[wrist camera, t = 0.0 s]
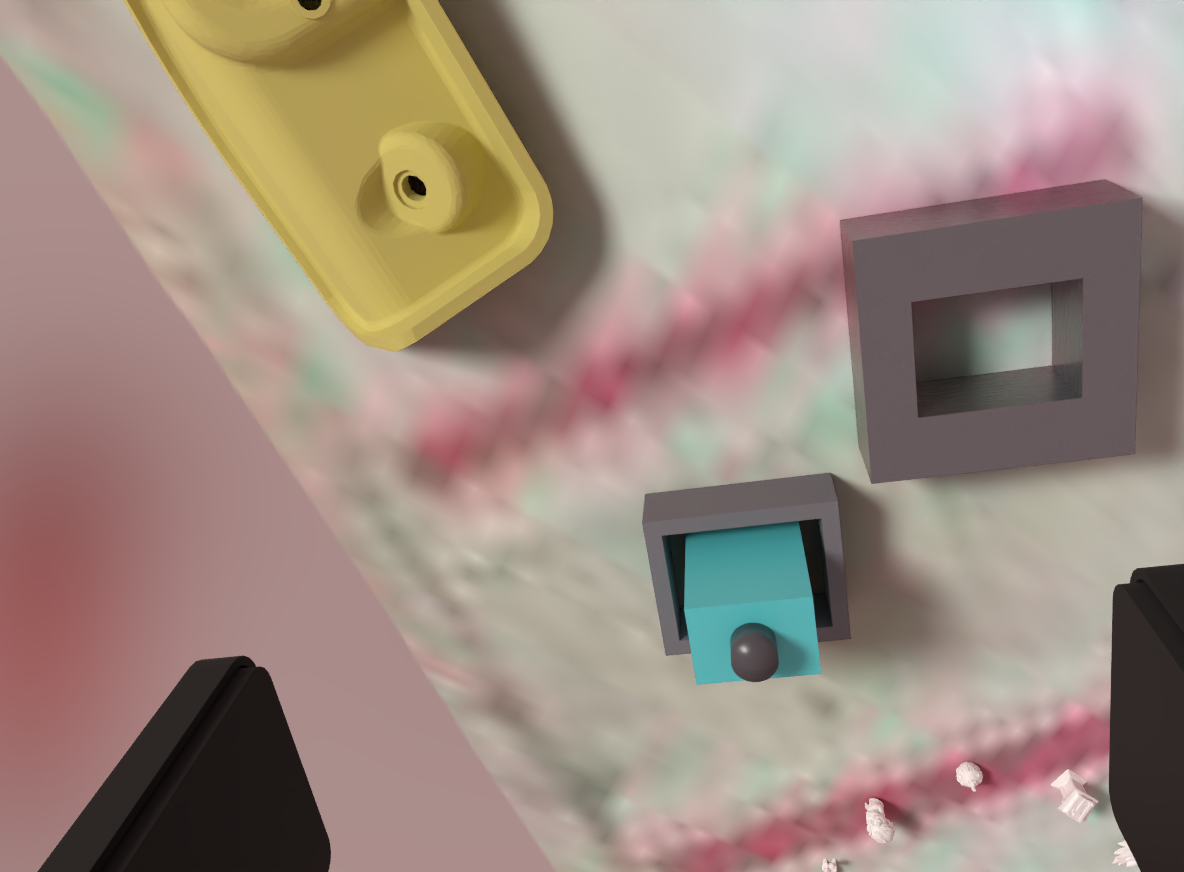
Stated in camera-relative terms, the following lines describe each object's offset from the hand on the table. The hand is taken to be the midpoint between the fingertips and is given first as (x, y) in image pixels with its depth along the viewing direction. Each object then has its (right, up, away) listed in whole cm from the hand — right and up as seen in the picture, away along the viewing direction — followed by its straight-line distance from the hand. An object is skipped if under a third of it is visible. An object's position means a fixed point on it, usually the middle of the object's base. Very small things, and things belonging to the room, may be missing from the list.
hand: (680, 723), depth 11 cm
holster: (+7, -3, +41) cm, 41 cm away
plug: (+7, -3, +41) cm, 41 cm away
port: (+16, +8, +35) cm, 39 cm away
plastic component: (-11, +19, +34) cm, 40 cm away
